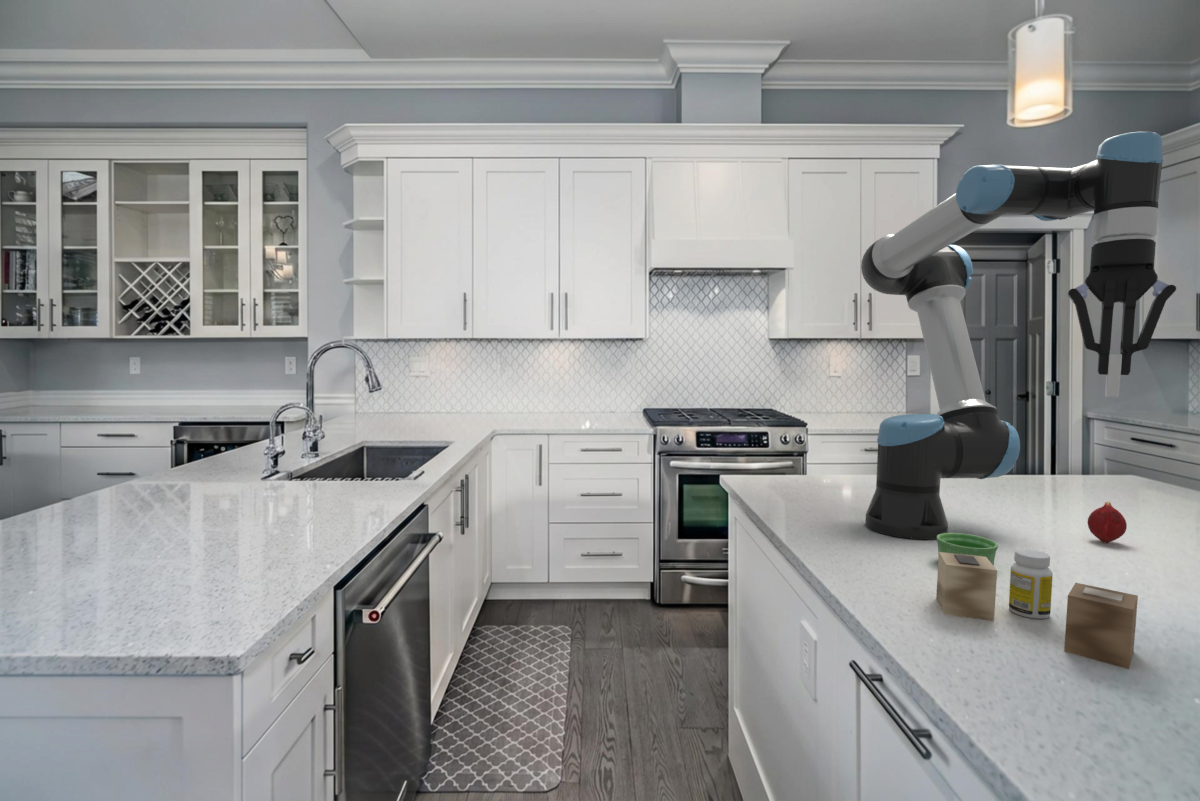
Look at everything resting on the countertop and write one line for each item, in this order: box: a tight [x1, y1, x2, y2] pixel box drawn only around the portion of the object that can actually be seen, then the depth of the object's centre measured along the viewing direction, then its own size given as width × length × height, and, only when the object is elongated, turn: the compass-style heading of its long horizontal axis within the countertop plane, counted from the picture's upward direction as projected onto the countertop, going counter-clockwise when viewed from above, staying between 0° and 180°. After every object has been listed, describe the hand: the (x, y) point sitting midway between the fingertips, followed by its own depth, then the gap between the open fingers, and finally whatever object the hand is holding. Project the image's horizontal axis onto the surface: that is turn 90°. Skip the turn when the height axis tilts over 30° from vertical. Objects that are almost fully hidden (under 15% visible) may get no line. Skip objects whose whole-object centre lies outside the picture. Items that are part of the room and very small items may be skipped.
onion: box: [1087, 501, 1128, 544], centre depth 120 cm, size 6×6×8 cm
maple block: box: [935, 552, 998, 622], centre depth 88 cm, size 6×6×7 cm
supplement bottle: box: [1008, 548, 1054, 620], centre depth 87 cm, size 5×5×8 cm
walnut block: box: [1063, 582, 1139, 670], centre depth 75 cm, size 6×6×7 cm
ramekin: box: [936, 532, 999, 567], centre depth 107 cm, size 9×9×4 cm
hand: (1111, 396), depth 97 cm, fingers closed
